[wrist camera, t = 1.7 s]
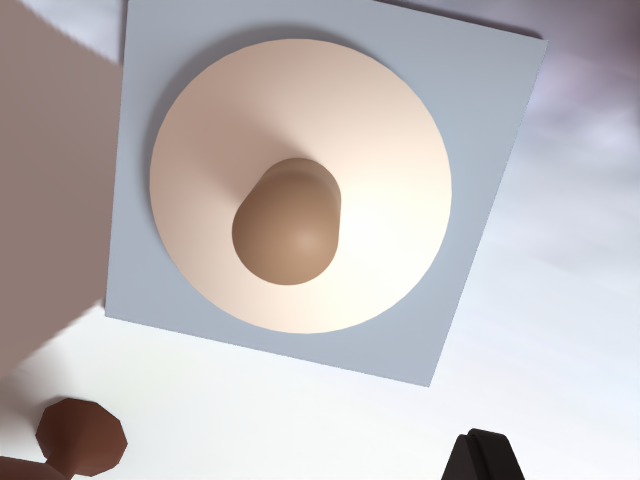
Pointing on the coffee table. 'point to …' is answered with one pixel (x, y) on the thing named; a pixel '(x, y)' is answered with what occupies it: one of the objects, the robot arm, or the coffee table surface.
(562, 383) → the coffee table surface
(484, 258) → the coffee table surface
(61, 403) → the ice cream bowl
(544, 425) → the coffee table surface
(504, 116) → the mat
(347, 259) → the lid
